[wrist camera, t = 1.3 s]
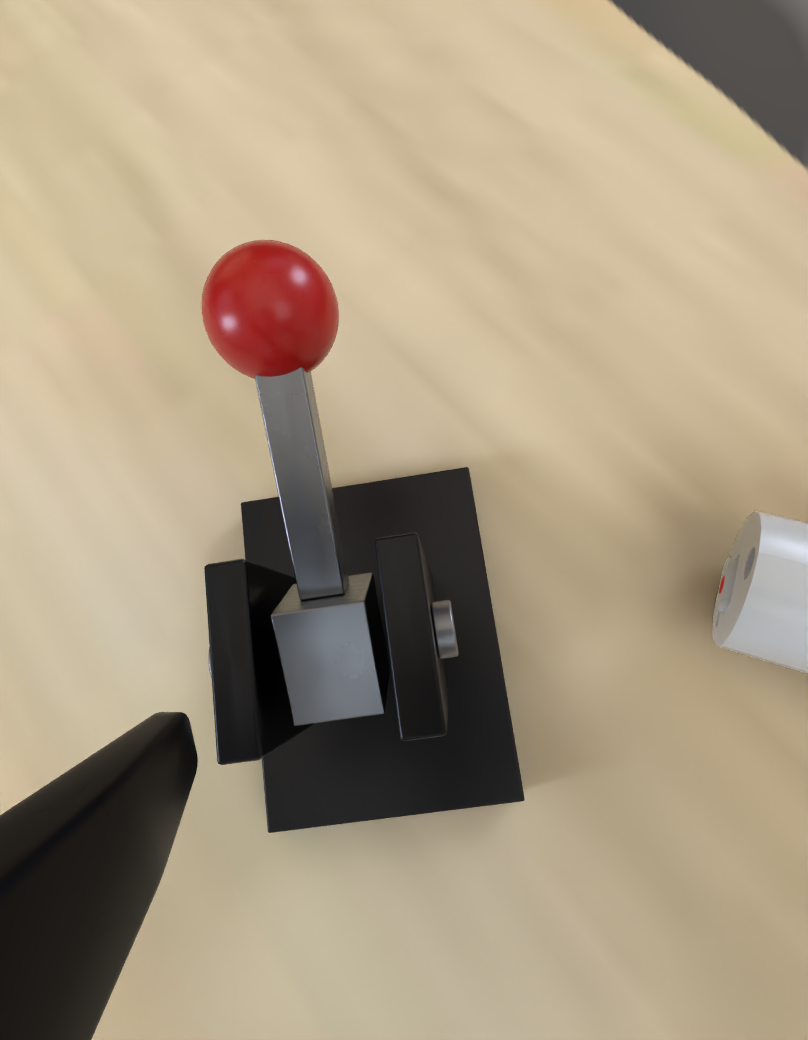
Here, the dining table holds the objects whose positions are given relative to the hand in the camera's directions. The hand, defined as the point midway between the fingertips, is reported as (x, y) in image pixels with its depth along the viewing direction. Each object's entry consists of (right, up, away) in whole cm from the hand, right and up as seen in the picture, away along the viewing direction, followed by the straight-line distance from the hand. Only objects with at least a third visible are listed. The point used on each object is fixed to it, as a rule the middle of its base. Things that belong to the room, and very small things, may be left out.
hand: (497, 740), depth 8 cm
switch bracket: (-2, -2, +14) cm, 14 cm away
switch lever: (-4, +4, +7) cm, 9 cm away
